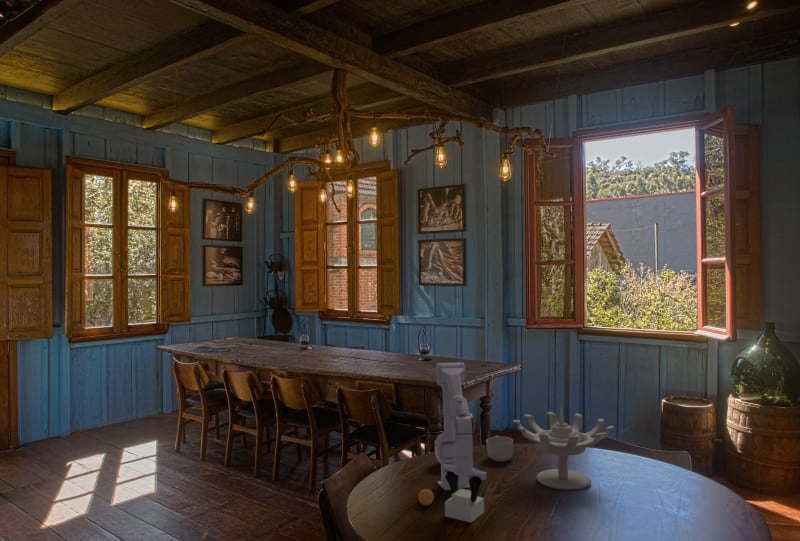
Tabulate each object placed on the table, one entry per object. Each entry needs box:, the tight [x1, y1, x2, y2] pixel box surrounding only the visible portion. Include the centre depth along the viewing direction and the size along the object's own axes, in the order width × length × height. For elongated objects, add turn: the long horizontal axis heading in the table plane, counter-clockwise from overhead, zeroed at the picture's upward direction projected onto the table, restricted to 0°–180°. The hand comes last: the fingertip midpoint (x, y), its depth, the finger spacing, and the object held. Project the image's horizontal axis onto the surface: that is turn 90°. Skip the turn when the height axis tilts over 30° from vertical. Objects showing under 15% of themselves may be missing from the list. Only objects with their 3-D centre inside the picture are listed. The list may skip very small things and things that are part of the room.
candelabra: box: [512, 406, 615, 491], centre depth 197 cm, size 34×35×27 cm
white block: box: [444, 488, 485, 523], centre depth 171 cm, size 9×9×6 cm
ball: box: [418, 488, 435, 506], centre depth 179 cm, size 5×5×5 cm
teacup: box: [485, 435, 514, 463], centre depth 225 cm, size 14×11×8 cm
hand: (464, 498), depth 171 cm, fingers closed on white block, 6 cm apart
